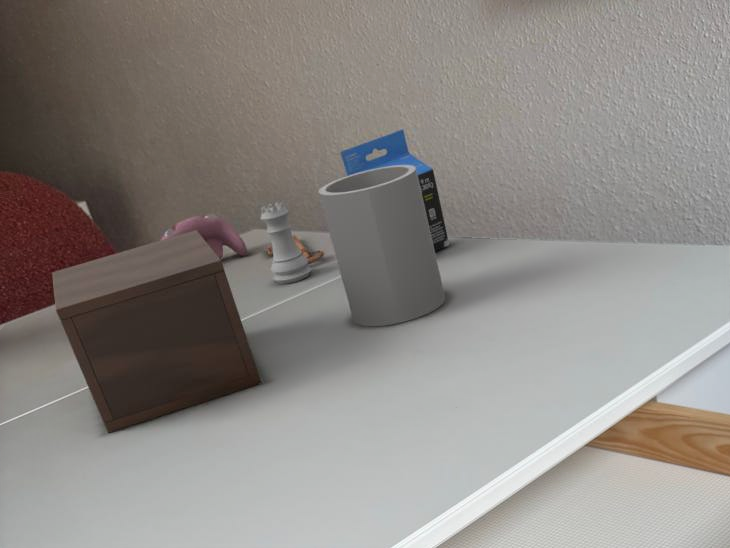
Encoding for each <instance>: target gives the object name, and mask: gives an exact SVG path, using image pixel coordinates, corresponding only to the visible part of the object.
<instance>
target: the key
mask: <svg viewBox="0 0 730 548" xmlns="http://www.w3.org/2000/svg"><path fill="white" fill-rule="evenodd" d="M292 236H293V238H294V241H295V243H296V245H297V247H298V249H299V250H300V251H301V252H302V255H303V256H305V257H306V258H307V259H308V264H307V266H308V265H311V264H313V263H315V262H318V261H319V260H321V259H322V258H323V257H324V256H325V252H324V251H323V250H313V251H310V252H309V250H308V249H307V248H306V247H305V246H304V245H303V243H302V242H301V240H300V239H299V238H298V237H297V235H295V234H292ZM265 250H266V253H267V254H268V256H273V249H272V245H271V246H269V247H267V248H265Z"/></svg>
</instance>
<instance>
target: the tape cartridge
mask: <svg viewBox="0 0 730 548" xmlns="http://www.w3.org/2000/svg"><path fill="white" fill-rule="evenodd" d="M374 150H377V151H383V150H385V151H386V153H385V154H384V155H381V156H377V157H375V158H372V159H370V160H367V156H369V155H371V154H374V153H373V152H374ZM340 157H341V161H342V163H343V166H344V170H345V173H346V176H349V175H353V174H356V173H359V172H363V171H367V170H371V169H376V168H381V167H387V166H395V165H413V166H415V167H416V170H417V175H418V179H419V184H420V188H421V192H422V197H423V201H424V206H425V210H426V215H427V219H428V224H429V228H430V232H431V237H432V241H433V246H434V250H435V252H436V251H439V250H441V249H444V248H446V247H449V246H450V242H449V237H448V232H447V227H446V223H445V218H444V213H443V210H442V205H441V204H442V203H441V200H440V195H439V191H438V186H437V181H436V177H435V171H434V169H433V168H432V167H431V166H430V165H428V164H427V163H425V162H423V161H422V160H419V159H418V158H417V157H415V156H414V155H412V154H411V153H410V151H409V148H408V144H407V140H406V136H405V131H404V129H398V130H396V131H394V132H391V133H389V134H386V135H383V136H380V137H378V138H375V139H372V140H369V141H366V142H364V143H361V144H357V145H356V146H352V147H350V148H347V149H344V150H340Z"/></svg>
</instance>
